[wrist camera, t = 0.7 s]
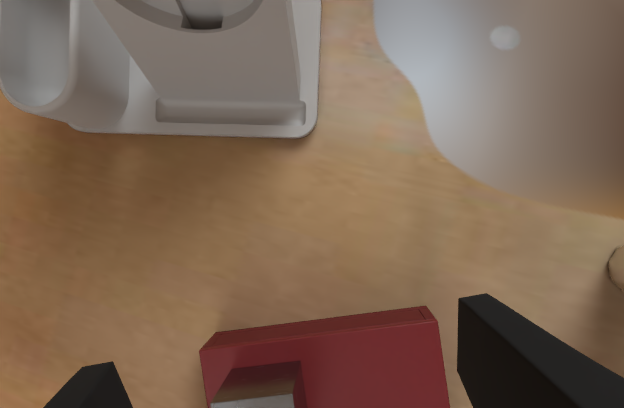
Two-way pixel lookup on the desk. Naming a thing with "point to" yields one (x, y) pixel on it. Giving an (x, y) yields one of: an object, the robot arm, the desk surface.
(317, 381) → the cover
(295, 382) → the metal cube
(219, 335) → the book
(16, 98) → the phone holder
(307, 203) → the desk surface
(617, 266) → the beige flat rounded piece
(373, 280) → the desk surface
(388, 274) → the desk surface
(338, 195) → the desk surface
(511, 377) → the robot arm
